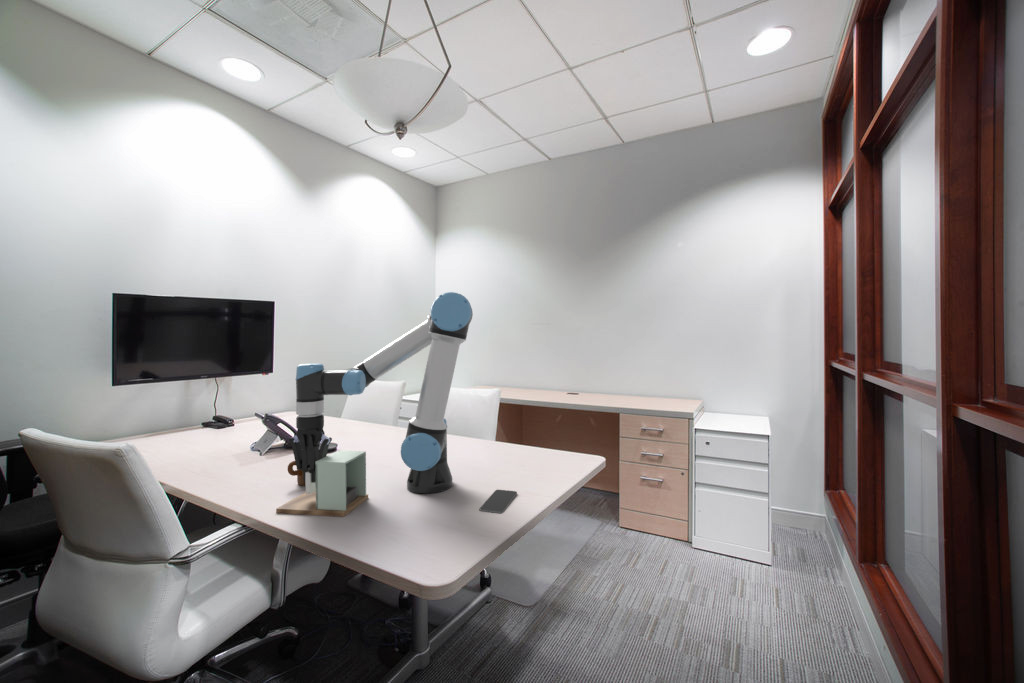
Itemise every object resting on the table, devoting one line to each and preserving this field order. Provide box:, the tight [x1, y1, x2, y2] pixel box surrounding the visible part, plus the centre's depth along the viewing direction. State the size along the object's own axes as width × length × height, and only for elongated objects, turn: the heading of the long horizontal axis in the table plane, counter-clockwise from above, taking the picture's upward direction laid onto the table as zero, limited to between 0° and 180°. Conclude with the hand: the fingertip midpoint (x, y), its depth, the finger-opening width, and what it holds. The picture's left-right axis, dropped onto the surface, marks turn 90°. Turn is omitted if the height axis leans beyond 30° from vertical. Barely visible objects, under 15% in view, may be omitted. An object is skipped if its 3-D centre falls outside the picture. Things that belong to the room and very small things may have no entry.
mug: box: [287, 460, 306, 487], centre depth 144 cm, size 12×8×9 cm, turn 155°
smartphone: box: [478, 489, 518, 515], centre depth 127 cm, size 7×1×16 cm
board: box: [275, 487, 369, 518], centre depth 125 cm, size 21×14×5 cm, turn 81°
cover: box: [315, 450, 367, 511], centre depth 125 cm, size 9×12×14 cm
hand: (310, 492), depth 126 cm, fingers closed
